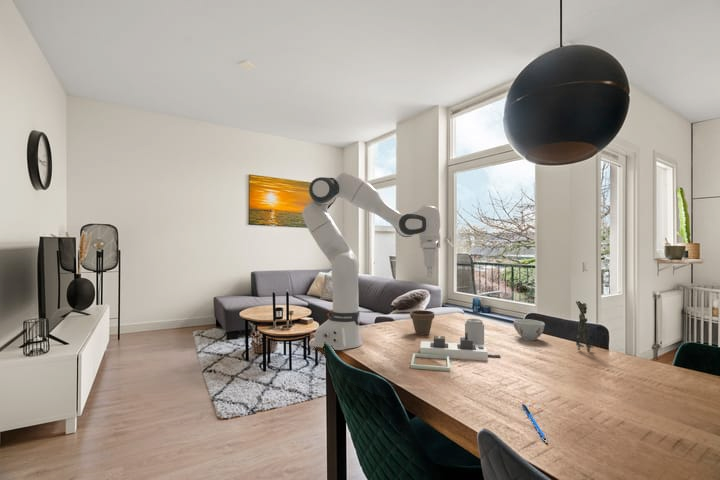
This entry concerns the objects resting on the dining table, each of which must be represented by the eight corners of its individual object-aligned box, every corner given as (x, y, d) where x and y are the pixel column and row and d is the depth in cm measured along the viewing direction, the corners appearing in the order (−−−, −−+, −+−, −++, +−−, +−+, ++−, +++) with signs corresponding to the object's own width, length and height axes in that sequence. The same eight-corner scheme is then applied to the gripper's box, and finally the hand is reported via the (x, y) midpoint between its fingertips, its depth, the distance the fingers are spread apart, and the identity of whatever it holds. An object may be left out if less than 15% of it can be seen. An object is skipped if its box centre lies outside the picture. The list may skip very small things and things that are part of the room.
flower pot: (409, 335, 165) (409, 314, 165) (410, 330, 176) (410, 309, 176) (434, 336, 163) (434, 315, 163) (433, 331, 174) (433, 310, 174)
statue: (596, 354, 139) (596, 302, 139) (577, 352, 141) (577, 301, 141) (592, 350, 143) (592, 301, 143) (574, 349, 145) (574, 300, 145)
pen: (524, 406, 94) (524, 402, 94) (550, 447, 76) (549, 441, 76) (521, 406, 95) (521, 402, 95) (545, 446, 76) (545, 441, 76)
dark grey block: (433, 354, 134) (433, 338, 134) (433, 351, 138) (433, 335, 138) (445, 355, 133) (445, 338, 133) (444, 351, 137) (444, 336, 137)
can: (481, 346, 148) (481, 318, 148) (486, 352, 140) (486, 322, 140) (463, 346, 148) (463, 317, 149) (466, 351, 141) (466, 321, 141)
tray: (410, 370, 120) (410, 364, 120) (413, 358, 132) (413, 353, 132) (450, 373, 117) (450, 367, 117) (449, 361, 130) (449, 355, 130)
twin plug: (460, 356, 132) (461, 333, 132) (460, 353, 136) (460, 331, 136) (472, 357, 131) (472, 334, 131) (471, 353, 135) (471, 331, 135)
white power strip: (420, 358, 133) (420, 345, 133) (421, 350, 142) (421, 339, 142) (502, 364, 127) (502, 351, 127) (498, 356, 136) (498, 344, 136)
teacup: (551, 341, 157) (551, 323, 157) (530, 344, 152) (530, 325, 152) (523, 333, 171) (523, 316, 171) (503, 335, 166) (503, 318, 166)
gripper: (423, 243, 162) (423, 273, 162) (421, 243, 142) (421, 278, 142) (437, 243, 161) (437, 274, 161) (437, 243, 141) (437, 278, 141)
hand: (429, 276), depth 151 cm, fingers open, 8 cm apart
